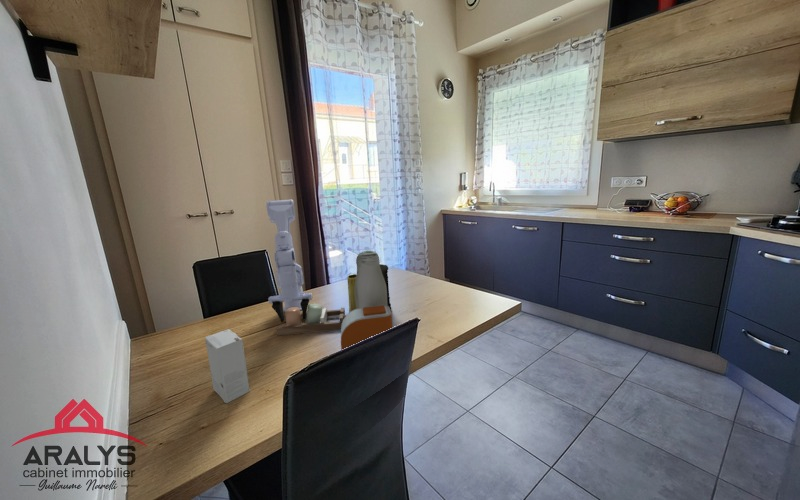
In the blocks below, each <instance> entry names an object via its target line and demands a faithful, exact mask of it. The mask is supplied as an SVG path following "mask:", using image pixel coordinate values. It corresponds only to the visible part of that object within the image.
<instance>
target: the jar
mask: <svg viewBox="0 0 800 500" xmlns="http://www.w3.org/2000/svg"><path fill="white" fill-rule="evenodd" d="M300 313H301V310H300V308H299V307H292V308H288V309H286V310H285V311H284V315H286V322H285V323H286V326H295V325H303V323H302V320H301V314H300Z"/></svg>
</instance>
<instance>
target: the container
mask: <svg viewBox="0 0 800 500" xmlns="http://www.w3.org/2000/svg"><path fill="white" fill-rule="evenodd" d="M380 268H381V272H382V275H383V277H384V280H385V283H386V288H387V306H389V307H390V310H391V311H392V306H391V305H392V304H391V302H390V299H391V297H390V289H389V286H390V285H389V276H388V273H389V271H388V270H389V266H388V265H386V264H383V263H382V264H380Z"/></svg>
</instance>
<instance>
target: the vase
mask: <svg viewBox="0 0 800 500" xmlns="http://www.w3.org/2000/svg"><path fill="white" fill-rule="evenodd" d="M356 274H357V273H352V274H349V275H347V277H346V279H347V289H348V291H347V292H348V309H349V310H348V311H349V312H351V311H352V310H354V309H357V308H356V300H355V290H354V288H355V280H356ZM349 312H348V313H349Z"/></svg>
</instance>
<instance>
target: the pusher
mask: <svg viewBox="0 0 800 500" xmlns="http://www.w3.org/2000/svg"><path fill="white" fill-rule="evenodd" d="M327 309H328V308H327V307H322V313H321V317H320V323H326V322H328V319H339V317H340V315H338V316H328V318H327V311H328V310H327ZM346 315H347V314H345V315H344V317H345V316H346Z"/></svg>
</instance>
